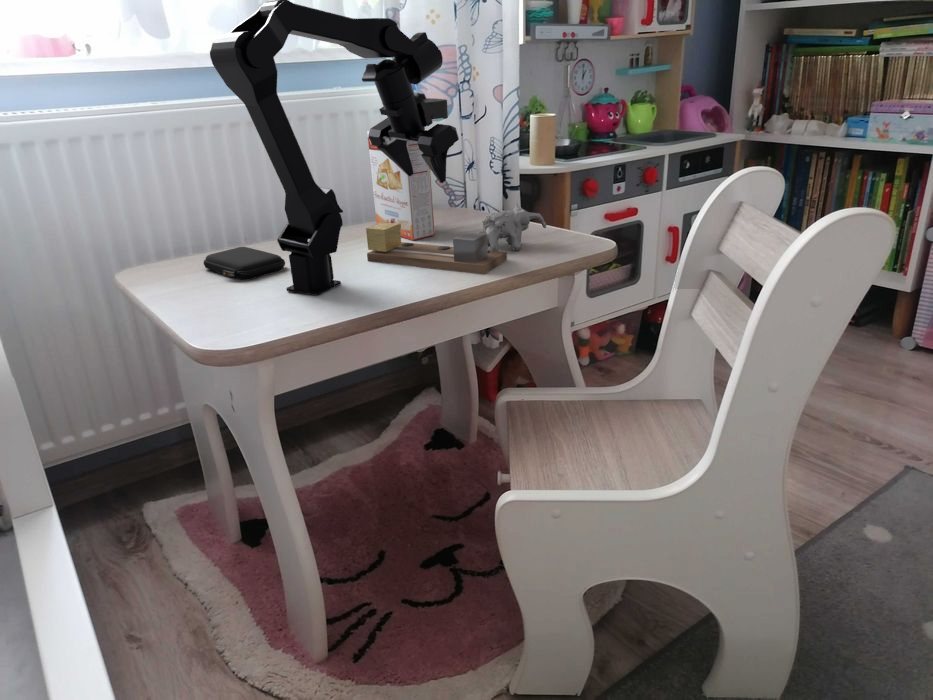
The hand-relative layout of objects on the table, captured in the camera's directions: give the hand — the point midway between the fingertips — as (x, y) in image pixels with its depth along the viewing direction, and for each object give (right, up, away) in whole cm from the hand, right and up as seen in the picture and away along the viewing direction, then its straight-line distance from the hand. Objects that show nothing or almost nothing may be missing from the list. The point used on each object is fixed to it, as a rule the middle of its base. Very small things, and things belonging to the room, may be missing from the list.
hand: (426, 178), depth 127 cm
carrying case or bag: (-33, -17, -1) cm, 38 cm away
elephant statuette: (+16, -12, +5) cm, 21 cm away
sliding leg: (-7, -12, +2) cm, 14 cm away
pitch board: (+2, -15, -1) cm, 15 cm away
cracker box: (-6, -7, +19) cm, 21 cm away
